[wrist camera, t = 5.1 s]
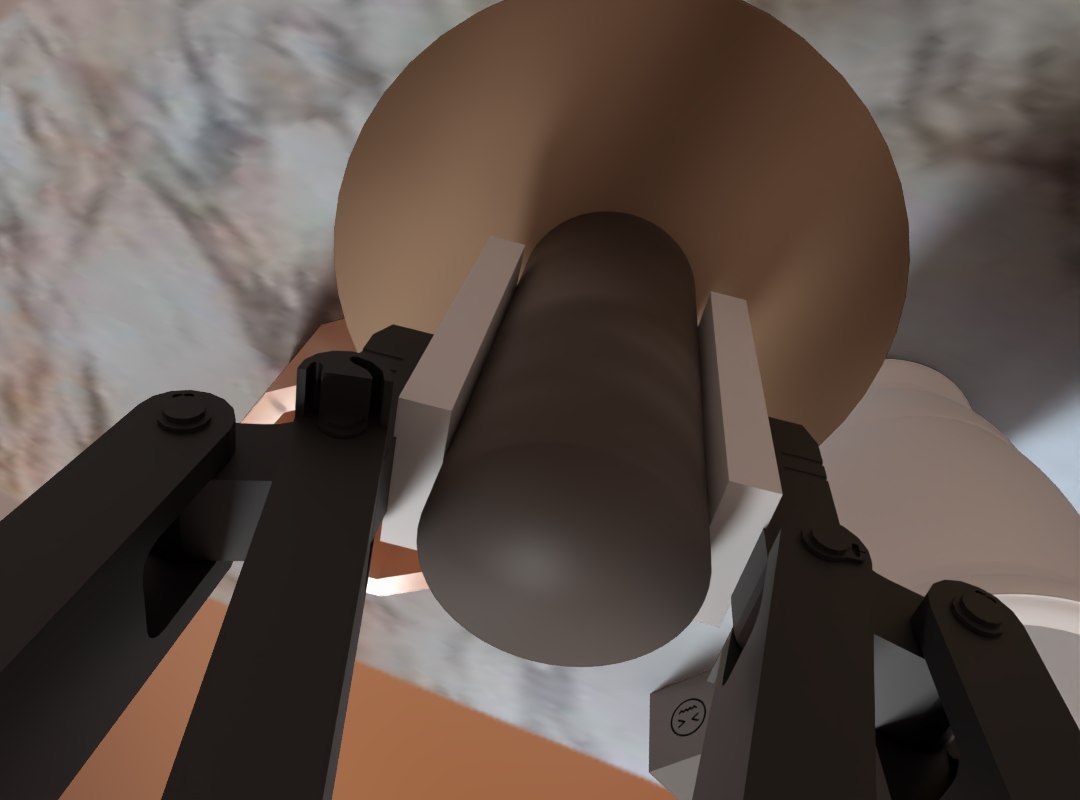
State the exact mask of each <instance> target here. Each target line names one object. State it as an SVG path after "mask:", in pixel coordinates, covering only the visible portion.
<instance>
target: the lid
mask: <svg viewBox="0 0 1080 800" xmlns="http://www.w3.org/2000/svg"><path fill="white" fill-rule="evenodd" d="M490 236H492V237H496V238H500V239H504V240H508V241H512V242H516V243H520V244H524V245H525V249H524V254H523V258H522V263H521V268H520V273H519V278H518V283H517V287H516V290H515V292H514V294H513V297H512V299H511V302H510V304H509V306H508V309H507V311H506V313H505V316H504V318H503V321H502V323H501V325H500V328H499V330H498V333H497V335H496V337H495V340H494V342H493V344H492V347H491V349H490V352H489V354H488V356H487V359H486V361H485V363H484V366H483V368H482V371H481V373H480V375H479V378H478V380H477V383H476V385H475V387H474V390H473V392H472V394H471V397H470V399H469V402H468V404H467V406H466V409H465V411H464V413H463V416H462V418H461V421H460V423H459V425H458V428H457V430H456V433H455V435H454V437H453V440H452V442H451V444H450V447H449V449H448V452H447V454H446V456H445V459H444V461H443V464H442V466H441V468H440V470H439V473H438V475H437V477H436V480H435V482H434V484H433V487H432V489H431V492H430V494H429V496H428V499H427V501H426V504H425V506H424V508H423V511H422V513H421V516H420V520H419V524H418V528H417V542H416V543H417V554H418V560H419V563H420V567H421V571H422V573H423V576H424V578H425V580H426V583H427V585H428V587H429V588H430V590H431V592H432V593H433V595H434V597H435V598H436V599H437V601H438V602H439V603H440V605H441V606H442V607H443V608H444V610H445V611H446V612H447V613H448V614H449V615H450V616H451V617H452V618H453V619H454V620H455V621H456V622H458V623H459V624H460V625H461V626H462V627H464V628H465V629H466V630H467V631H469V632H470V633H472V634H473V635H475V636H476V637H478V638H479V639H481V640H482V641H484V642H486V643H488V644H490V645H492V646H494V647H496V648H498V649H500V650H502V651H505V652H507V653H510V654H512V655H515V656H518V657H521V658H524V659H528V660H531V661H535V662H540V663H545V664H550V665H558V666H567V667H592V666H604V665H610V664H616V663H621V662H625V661H628V660H632V659H635V658H638V657H641V656H643V655H646V654H648V653H651V652H653V651H654V650H656V649H658V648H660V647H662V646H664V645H665V644H667V643H668V642H670V641H671V640H672V639H674V638H675V637H677V636H678V635H679V634H680V633H681V632H682V631H683V630H684V629H685V628H686V627H687V626H688V625H689V624H690V623H691V622H692V620H693V619H694V618H695V616H696V615H697V614H698V612H699V610H700V608H701V607H702V605H703V603H704V601H705V598H706V595H707V593H708V590H709V586H710V580H711V573H712V568H711V544H710V527H709V510H708V493H707V476H706V459H705V443H704V426H703V409H702V392H701V375H700V358H699V341H698V325H699V323H700V320H701V317H702V314H703V311H704V308H705V305H706V303H707V300H708V297H709V294H710V291H712V292H716V293H720V294H724V295H728V296H732V297H736V298H740V299H744V300H746V302H747V307H748V313H749V318H750V323H751V329H752V334H753V339H754V345H755V350H756V355H757V361H758V366H759V371H760V377H761V382H762V387H763V393H764V398H765V403H766V409H767V414H768V417H772V418H776V419H780V420H784V421H788V422H792V423H796V424H800V425H803V426H804V428H805V429H806V430H807V431H808V432H809V434H810V435H811V436H812V437H813V439H814V440H815V441H816V442H817V443H818V446H820V445H821V444H822V443H823V442H824V441H825V440H826V439H827V438H828V437H829V436H830V435H831V434H832V433H833V432H834V431H835V430H836V429H837V428H838V427H839V426H840V425H841V424H842V423H843V422H844V421H845V420H846V418H847V417H848V416H849V415H850V413H851V412H852V411H853V409H854V408H855V407H856V406H857V404H858V403H859V402H860V400H861V399H862V398H863V397H864V395H865V394H866V392H867V390H868V389H869V387H870V385H871V384H872V382H873V380H874V379H875V377H876V375H877V374H878V372H879V370H880V368H881V367H882V365H883V363H884V360H885V358H886V356H887V353H888V351H889V348H890V346H891V344H892V341H893V339H894V337H895V334H896V332H897V328H898V324H899V320H900V316H901V313H902V309H903V305H904V301H905V298H906V289H907V280H908V272H909V263H910V252H909V223H908V217H907V212H906V207H905V201H904V196H903V191H902V185H901V182H900V179H899V176H898V173H897V171H896V168H895V165H894V162H893V159H892V156H891V154H890V151H889V148H888V145H887V144H886V142H885V140H884V138H883V136H882V134H881V132H880V131H879V129H878V127H877V125H876V123H875V121H874V120H873V118H872V116H871V114H870V112H869V110H868V109H867V107H866V106H865V105H864V104H863V102H862V101H861V100H860V98H859V97H858V96H857V94H856V93H855V92H854V90H853V89H852V88H851V86H850V85H849V84H848V82H847V81H846V80H845V78H844V77H843V76H842V75H841V74H840V73H839V72H838V71H837V70H836V69H835V68H834V67H833V66H832V65H831V64H830V63H829V62H828V61H827V60H826V59H824V58H823V57H822V56H821V55H820V54H819V53H818V52H817V51H816V50H815V49H814V48H813V47H812V46H811V45H810V44H809V43H808V42H807V41H806V40H805V39H804V38H803V37H801V36H800V35H798V34H797V33H795V32H794V31H793V30H791V29H790V28H788V27H787V26H786V25H784V24H783V23H781V22H780V21H779V20H777V19H776V18H774V17H773V16H771V15H770V14H768V13H766V12H764V11H762V10H760V9H758V8H756V7H754V6H752V5H751V4H749V3H747V2H745V1H743V0H503V1H501V2H499V3H497V4H494V5H492V6H490V7H488V8H486V9H484V10H482V11H480V12H478V13H476V14H474V15H473V16H471V17H470V18H468V19H467V20H465V21H463V22H462V23H460V24H459V25H457V26H456V27H454V28H452V29H451V30H449V31H448V32H446V33H445V34H443V35H442V36H440V37H439V38H438V39H437V40H436V41H434V42H433V43H432V44H431V45H430V46H429V47H427V48H426V49H425V50H424V51H423V52H422V53H421V54H419V55H418V56H417V57H416V58H415V59H414V60H413V61H411V62H410V63H409V64H408V66H407V67H406V68H405V69H404V70H403V71H402V73H401V74H400V75H399V76H398V77H397V78H396V80H395V81H394V82H393V83H392V84H391V85H390V87H389V88H388V89H387V90H386V91H385V92H384V94H383V96H382V97H381V99H380V100H379V102H378V103H377V105H376V107H375V108H374V110H373V111H372V113H371V114H370V116H369V118H368V119H367V121H366V122H365V124H364V126H363V128H362V130H361V133H360V135H359V137H358V139H357V142H356V144H355V146H354V148H353V151H352V153H351V155H350V157H349V160H348V163H347V167H346V170H345V174H344V178H343V181H342V185H341V188H340V192H339V197H338V204H337V211H336V219H335V226H334V264H335V272H336V279H337V287H338V294H339V298H340V302H341V306H342V310H343V313H344V317H345V321H346V325H347V328H348V330H349V333H350V335H351V338H352V340H353V343H354V345H355V347H356V350H357V352H358V353H360V352H362V350H363V348H364V346H365V345H366V343H367V342H368V341H369V339H370V338H371V336H372V335H373V334H374V333H376V332H378V331H381V330H383V329H385V328H387V327H389V326H391V325H393V324H394V325H398V326H402V327H406V328H410V329H414V330H418V331H422V332H426V333H430V334H435V332H436V330H437V329H438V327H439V325H440V323H441V322H442V320H443V318H444V316H445V315H446V313H447V311H448V309H449V307H450V306H451V304H452V302H453V300H454V299H455V297H456V295H457V293H458V292H459V290H460V288H461V286H462V285H463V283H464V281H465V279H466V277H467V276H468V274H469V272H470V270H471V269H472V267H473V265H474V263H475V262H476V260H477V258H478V256H479V254H480V253H481V251H482V249H483V247H484V246H485V244H486V242H487V240H488V239H489V237H490Z"/></svg>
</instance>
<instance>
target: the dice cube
mask: <svg viewBox="0 0 1080 800" xmlns="http://www.w3.org/2000/svg"><path fill="white" fill-rule="evenodd" d="M711 671H712V669H711V670H709V671H706V672H704V673H701V674H699V675H696V676H694V677H691V678H689V679H686V680H684V681H681V682H679V683H676V684H674V685H671V686H669V687H666V688H664V689H661V690H659V691H656V692H654V693H651V694H650V735H649V773H650V774H651V775H652V776H653V777H654V778H655V779H657V780H658V781H659V782H660V783H661V784H662V785H663V786H664V787H665V788H666V789H667V790H668V791H669V792H670V793H671V794H672V795H674V796H675V797H676V798H677V799H678V800H692V797H693V792H694V787H695V783H696V778H697V773H698V768H699V763H700V758H701V753H702V748H703V743H704V738H705V733H706V728H707V723H708V718H709V713H710V708H711V703H712V698H713V693H714V688H715V683H716V680H715V682H714V684H713V683H711V682H708V681H707V679H708V677H709V675H710V673H711Z"/></svg>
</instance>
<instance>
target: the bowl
mask: <svg viewBox="0 0 1080 800" xmlns="http://www.w3.org/2000/svg"><path fill="white" fill-rule="evenodd" d="M334 350H335V351H353V352H357V350H356V347H355V345H354V343H353V340H352V338H351V335H350V333H349V330H348V328H347V325H346V321H345V318H344V319H341V320H337V321H333V322H329V323H326V324H322V325H321V326H320V327H319V328H318V329H317V330H316V332H315V333H314V334H313V335H312V337H311V338H310V339H309V340H308V341H307V343H306V344H305V345H304V346H303V347H302V349H301V350H300V351H299V352H298V353H297V355H296V356H295V357H294V358H293V359H292V361H291V362H290V363H289V364H288V365H287V366H286V367H285V369H284V370H283V371H282V372H281V373H280V375H279V376H278V377H277V378H276V380H275V381H274V382H273V383H272V384H271V386H270V387H269V388H268V389H267V391H266V392H265V393H264V394H263V395H262V397H261V398H260V399H259V400H258V402H257V403H256V404H255V405H254V406H253V408H252V409H251V410H250V411H249V413H248V414H247V415H246V416H245V417H244V419H243V420H242V421H241V422H240V423H248V424H282V423H288V422H293V421H294V418H295V403H296V381H297V368H298V367H299V365H300V364H301V363H302V362H303V360H304V359H306V358H308V357H311V356H313V355H315V354H317V353H322V352H328V351H334ZM357 353H358V352H357ZM382 521H383V520H382ZM381 529H382V522H381V524H380V526H379V528H378V530H377V532H376V535H375V537H374V545H373V553H372V560H371V566H370V572H369V578H368V584H367V590H366V593H370V594H374V595H378V596H385V595H392V594H398V593H405V592H411V591H417V590H424V589H430V588H429V587H428V585H427V583H426V580H425V578H424V576H423V573H422V571H421V567H420V563H419V560H418V554H417V550H414V549H410V548H406V547H402V546H398V545H394V544H390V543H386V542H382V541H380V537H381Z"/></svg>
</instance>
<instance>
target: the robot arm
mask: <svg viewBox="0 0 1080 800" xmlns="http://www.w3.org/2000/svg"><path fill="white" fill-rule="evenodd" d="M524 249H525V245H524V244H520V243H516V242H512V241H508V240H504V239H500V238H496V237H492V236H490V237H489V239H488V240H487V242H486V244H485V246H484V247H483V249H482V251H481V253H480V254H479V256H478V258H477V260H476V262H475V263H474V265H473V267H472V269H471V270H470V272H469V274H468V276H467V277H466V279H465V281H464V283H463V285H462V286H461V288H460V290H459V292H458V293H457V295H456V297H455V299H454V300H453V302H452V304H451V306H450V307H449V309H448V311H447V313H446V315H445V316H444V318H443V320H442V322H441V323H440V325H439V327H438V329H437V330H436V332H435V334H430V333H426V332H422V331H418V330H414V329H410V328H406V327H402V326H398V325H394V324H393V325H391V326H389V327H387V328H385V329H383V330H381V331H378V332H376V333H374V334H373V335H372V336H371V338H370V339H369V341H368V342H367V343H366V345H365V346H364V348H363V350H362V352H360V353H357V352H353V351H335V350H334V351H328V352H322V353H317V354H315V355H313V356H311V357H308V358H306V359H304V360H303V362H302V363H301V364H300V365H299V367H298V368H297V381H296V403H295V418H294V421H293V422H288V423H282V424H248V423H236V419H235V414H234V409H233V408H232V407H231V406H230V405H229V404H228V403H227V402H226V401H225V400H224V399H222V398H220V397H218V396H215V395H213V394H211V393H206V392H200V391H193V390H184V391H182V390H181V391H170V392H166V393H163V394H159V395H155V396H152V397H151V398H149V399H147V400H145V401H144V402H142V403H140V404H139V405H137V406H136V407H135V408H134V409H133V410H132V411H130V412H129V413H128V414H127V415H126V416H124V417H123V418H122V419H121V420H120V421H119V422H117V423H116V424H115V425H114V426H113V427H111V428H110V429H109V430H108V431H107V432H106V433H104V434H103V435H102V436H101V437H100V438H98V439H97V440H96V441H95V442H94V443H93V444H91V445H90V446H89V447H88V448H87V449H85V450H84V451H83V452H82V453H81V454H79V455H78V456H77V457H76V458H75V459H74V460H72V461H71V462H70V463H69V464H68V465H66V466H65V467H64V468H63V469H62V470H61V471H59V472H58V473H57V474H56V475H55V476H53V477H52V478H51V479H50V480H49V481H48V482H46V483H45V484H44V485H43V486H42V487H40V488H39V489H38V490H37V491H36V492H35V493H33V494H32V495H31V496H30V497H29V498H27V499H26V500H25V501H24V502H23V503H22V504H20V505H19V506H18V507H17V508H16V509H14V510H13V511H12V512H11V513H10V514H9V515H7V516H6V517H5V518H4V519H3V520H1V521H0V800H58V799H59V798H60V796H61V795H62V794H63V792H64V791H65V790H66V788H67V787H68V786H69V784H70V782H72V780H73V779H74V777H75V776H76V775H77V773H78V772H79V771H80V769H81V768H82V767H83V765H84V764H85V763H86V761H87V760H88V759H89V757H90V756H91V755H92V753H93V752H94V751H95V749H96V748H97V747H98V745H99V744H100V742H101V741H102V740H103V738H104V737H105V736H106V734H107V733H108V732H109V730H110V729H111V728H112V726H113V725H114V724H115V722H116V721H117V720H118V718H119V717H120V716H121V714H122V713H123V711H124V710H125V709H126V707H127V706H128V705H129V703H130V702H131V701H132V699H133V698H134V697H135V695H136V694H137V693H138V691H139V690H140V688H141V687H142V686H143V685H144V683H145V682H146V680H147V679H148V678H149V676H150V675H151V674H152V672H153V671H154V670H155V668H156V667H157V666H158V664H159V663H160V662H161V660H162V659H163V658H164V656H165V655H166V654H167V652H168V651H169V649H170V648H171V647H172V645H173V644H174V642H175V641H176V640H177V639H178V637H179V636H180V635H181V633H182V632H183V631H184V629H185V628H186V626H187V625H188V624H189V623H190V621H191V620H192V618H193V617H194V616H195V614H196V613H197V612H198V610H199V609H200V608H201V606H202V605H203V604H204V602H205V601H206V600H207V598H208V597H209V596H210V594H211V593H212V592H213V590H214V589H215V588H216V586H217V585H218V583H219V582H220V581H221V579H222V578H223V577H224V575H225V574H226V573H227V571H228V570H229V569H230V567H231V565H232V563H233V561H244V564H243V567H242V570H241V572H240V575H239V578H238V581H237V584H236V587H235V590H234V592H233V595H232V598H231V601H230V604H229V607H228V610H227V612H226V615H225V618H224V621H223V624H222V627H221V630H220V632H219V635H218V638H217V641H216V644H215V647H214V650H213V653H212V655H211V658H210V661H209V664H208V667H207V670H206V673H205V675H204V678H203V681H202V684H201V687H200V690H199V693H198V695H197V698H196V701H195V704H194V707H193V710H192V713H191V715H190V718H189V722H188V724H187V727H186V730H185V733H184V736H183V738H182V741H181V744H180V747H179V750H178V753H177V756H176V758H175V761H174V764H173V767H172V770H171V773H170V776H169V778H168V781H167V784H166V787H165V790H164V793H163V796H162V799H161V800H332V794H333V789H334V782H335V777H336V770H337V764H338V758H339V752H340V747H341V740H342V734H343V728H344V722H345V716H346V710H347V704H348V698H349V692H350V686H351V680H352V674H353V668H354V662H355V656H356V650H357V644H358V638H359V632H360V626H361V620H362V614H363V608H364V602H365V596H366V590H367V584H368V578H369V572H370V566H371V560H372V553H373V545H374V537H375V535H376V532H377V530H378V528H379V526H380V524H381V522H382V529H381V537H380V541H382V542H386V543H390V544H394V545H398V546H402V547H406V548H410V549H414V550H417V543H416V542H417V528H418V524H419V520H420V516H421V513H422V511H423V508H424V506H425V504H426V501H427V499H428V496H429V494H430V492H431V489H432V487H433V484H434V482H435V480H436V477H437V475H438V473H439V470H440V468H441V466H442V464H443V461H444V459H445V456H446V454H447V452H448V449H449V447H450V444H451V442H452V440H453V437H454V435H455V433H456V430H457V428H458V425H459V423H460V421H461V418H462V416H463V413H464V411H465V409H466V406H467V404H468V402H469V399H470V397H471V394H472V392H473V390H474V387H475V385H476V383H477V380H478V378H479V375H480V373H481V371H482V368H483V366H484V363H485V361H486V359H487V356H488V354H489V352H490V349H491V347H492V344H493V342H494V340H495V337H496V335H497V333H498V330H499V328H500V325H501V323H502V321H503V318H504V316H505V313H506V311H507V309H508V306H509V304H510V302H511V299H512V297H513V294H514V292H515V290H516V287H517V283H518V278H519V273H520V268H521V263H522V258H523V254H524ZM698 341H699V358H700V375H701V392H702V409H703V426H704V443H705V459H706V476H707V493H708V510H709V527H710V544H711V568H712V573H711V580H710V586H709V590H708V593H707V595H706V598H705V601H704V603H703V605H702V607H701V608H700V610H699V612H698V614H697V615H696V616H695V618H694V619H693V620H692V621H696V622H700V623H703V624H707V625H711V626H715V627H720V625H721V623H722V621H723V619H724V617H725V615H726V613H727V610H728V608H729V606H730V604H731V605H732V617H733V628H732V630H731V632H730V634H729V636H728V638H727V640H726V642H725V644H724V646H723V648H722V650H721V652H720V654H719V656H718V659H717V661H716V663H715V665H714V667H713V669H712V671H711V673H710V675H709V677H708V679H707V681H708V682H711V683H713V684H714V682H715V680H716V683H715V688H714V693H713V698H712V703H711V708H710V713H709V718H708V723H707V728H706V733H705V738H704V743H703V748H702V753H701V758H700V763H699V768H698V773H697V778H696V783H695V787H694V792H693V797H692V800H1080V730H1079V728H1078V726H1077V724H1076V722H1075V720H1074V718H1073V717H1072V715H1071V713H1070V711H1069V709H1068V707H1067V705H1066V703H1065V702H1064V700H1063V698H1062V696H1061V694H1060V692H1059V690H1058V689H1057V687H1056V685H1055V683H1054V681H1053V679H1052V677H1051V675H1050V674H1049V672H1048V670H1047V668H1046V666H1045V664H1044V662H1043V661H1042V659H1041V657H1040V655H1039V653H1038V651H1037V649H1036V648H1035V646H1034V644H1033V642H1032V640H1031V638H1030V636H1029V634H1028V633H1027V631H1026V629H1025V627H1024V626H1023V624H1022V623H1021V621H1020V620H1019V619H1018V617H1017V616H1016V615H1015V613H1014V612H1013V611H1012V610H1011V609H1009V608H1008V607H1007V606H1006V605H1005V604H1004V603H1002V602H1001V601H1000V600H999V599H998V598H997V597H995V596H994V595H992V594H990V593H988V592H987V591H985V590H983V589H981V588H979V587H976V586H974V585H971V584H968V583H965V582H962V581H955V580H942V581H939V582H936V583H933V584H932V586H931V587H930V589H929V591H928V592H927V594H926V595H925V597H924V596H922V595H920V594H918V593H916V592H913V591H911V590H909V589H907V588H905V587H903V586H901V585H899V584H897V583H895V582H892V581H890V580H889V579H887V578H885V577H883V576H881V575H880V574H878V573H876V572H875V571H873V570H872V560H871V557H870V554H869V551H868V549H867V548H866V547H865V545H864V544H863V543H862V542H861V540H860V539H859V538H858V537H857V536H855V535H854V534H853V533H852V532H850V531H849V530H848V529H846V528H845V527H844V526H842V525H840V523H839V519H838V515H837V512H836V508H835V504H834V501H833V497H832V493H831V490H830V486H829V482H828V481H826V480H827V475H826V471H825V468H824V466H822V464H823V460H822V457H821V453H820V449H819V446H818V443H817V442H816V441H815V440H814V439H813V437H812V436H811V435H810V434H809V432H808V431H807V430H806V429H805V428H804V426H803V425H800V424H796V423H792V422H788V421H784V420H780V419H776V418H772V417H768V414H767V409H766V403H765V398H764V393H763V387H762V382H761V377H760V371H759V366H758V361H757V355H756V350H755V345H754V339H753V334H752V329H751V323H750V318H749V313H748V307H747V302H746V300H744V299H740V298H736V297H732V296H728V295H724V294H720V293H716V292H712V291H710V294H709V297H708V300H707V303H706V305H705V308H704V311H703V314H702V317H701V320H700V323H699V325H698ZM382 520H383V521H382Z"/></svg>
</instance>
